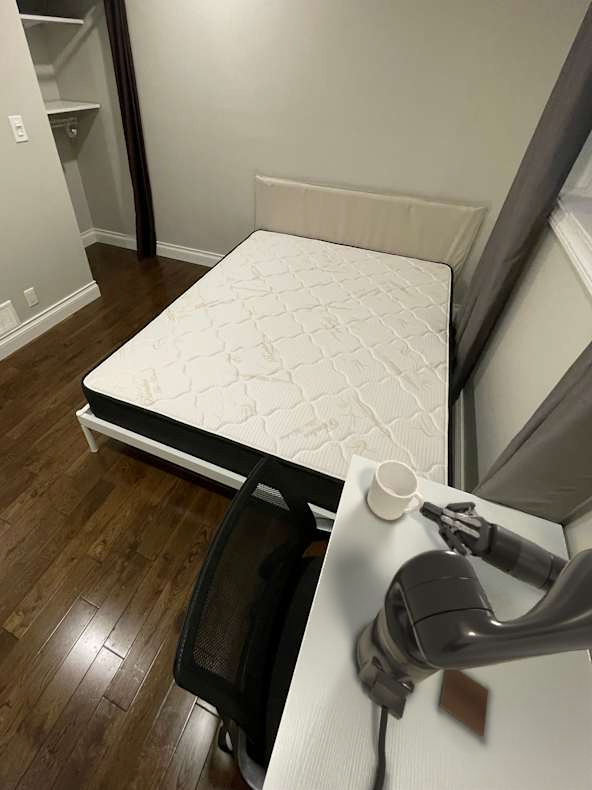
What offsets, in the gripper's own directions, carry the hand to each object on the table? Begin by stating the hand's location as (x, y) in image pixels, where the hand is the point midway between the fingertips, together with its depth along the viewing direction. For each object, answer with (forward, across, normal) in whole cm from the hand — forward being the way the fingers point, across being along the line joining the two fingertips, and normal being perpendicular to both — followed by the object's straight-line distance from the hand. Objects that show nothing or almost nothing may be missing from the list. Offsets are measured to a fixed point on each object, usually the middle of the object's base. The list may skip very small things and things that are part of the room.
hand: (421, 506), depth 76 cm
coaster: (-14, +25, +6) cm, 29 cm away
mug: (+5, 0, +6) cm, 8 cm away
